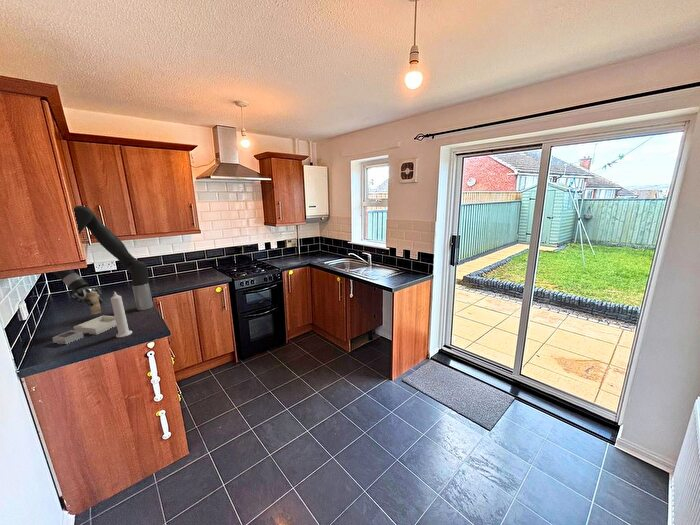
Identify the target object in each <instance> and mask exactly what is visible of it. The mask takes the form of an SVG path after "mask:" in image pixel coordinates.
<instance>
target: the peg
mask: <svg viewBox="0 0 700 525" xmlns="http://www.w3.org/2000/svg"><path fill="white" fill-rule="evenodd" d="M87 297H88V300H91V301H92V302H93V303H94V305H93V306H89V309H90V313H91V315H96V314H101V313H102V309H101V308H102V307H101V303H99V298H98V294H97V292H90V293H87Z"/></svg>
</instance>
